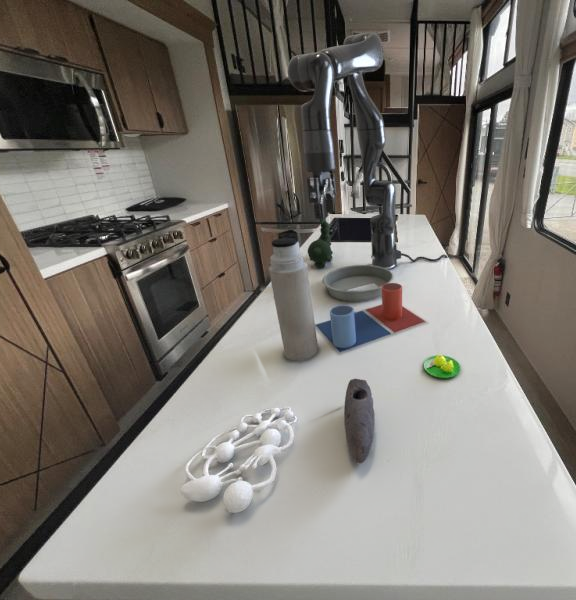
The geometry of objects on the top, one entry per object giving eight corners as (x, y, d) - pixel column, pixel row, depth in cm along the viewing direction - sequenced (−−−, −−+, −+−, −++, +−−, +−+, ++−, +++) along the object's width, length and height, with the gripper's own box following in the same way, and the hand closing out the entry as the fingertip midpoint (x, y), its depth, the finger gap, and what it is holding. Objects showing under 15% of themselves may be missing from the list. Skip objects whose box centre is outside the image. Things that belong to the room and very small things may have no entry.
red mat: (393, 302, 103) (393, 300, 103) (425, 322, 91) (425, 321, 91) (365, 310, 98) (365, 309, 98) (394, 333, 86) (394, 332, 86)
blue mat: (362, 311, 98) (362, 310, 98) (391, 334, 85) (391, 333, 85) (315, 326, 91) (315, 324, 90) (340, 353, 78) (339, 352, 78)
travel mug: (307, 283, 118) (300, 229, 110) (301, 291, 112) (293, 234, 104) (291, 283, 119) (282, 229, 110) (284, 290, 113) (274, 234, 104)
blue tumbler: (349, 333, 86) (347, 302, 82) (360, 343, 81) (358, 311, 77) (329, 340, 83) (326, 308, 79) (339, 350, 79) (336, 318, 75)
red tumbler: (394, 308, 98) (394, 281, 94) (406, 316, 94) (406, 287, 90) (378, 313, 95) (377, 285, 91) (389, 321, 91) (388, 292, 87)
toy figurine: (317, 257, 151) (305, 272, 127) (313, 216, 144) (300, 223, 121) (338, 257, 151) (329, 272, 127) (335, 215, 144) (325, 222, 121)
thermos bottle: (296, 340, 84) (279, 234, 72) (324, 345, 82) (310, 236, 69) (278, 358, 77) (255, 243, 65) (307, 364, 75) (289, 246, 63)
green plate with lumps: (466, 367, 72) (468, 357, 71) (446, 385, 67) (447, 374, 66) (437, 353, 77) (438, 343, 76) (416, 368, 72) (416, 358, 71)
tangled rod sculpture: (251, 409, 64) (246, 392, 62) (317, 418, 60) (313, 400, 58) (167, 502, 47) (157, 482, 45) (251, 524, 43) (242, 503, 41)
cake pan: (337, 274, 127) (336, 263, 125) (399, 277, 122) (399, 266, 120) (312, 301, 105) (310, 288, 103) (386, 306, 100) (386, 293, 98)
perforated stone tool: (376, 472, 50) (374, 440, 47) (342, 474, 50) (338, 442, 47) (374, 402, 63) (373, 374, 60) (347, 403, 63) (344, 375, 60)
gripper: (323, 151, 75) (329, 221, 82) (341, 150, 88) (346, 211, 95) (293, 152, 76) (302, 221, 83) (315, 150, 89) (321, 210, 96)
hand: (325, 215), depth 89 cm, fingers open, 8 cm apart
